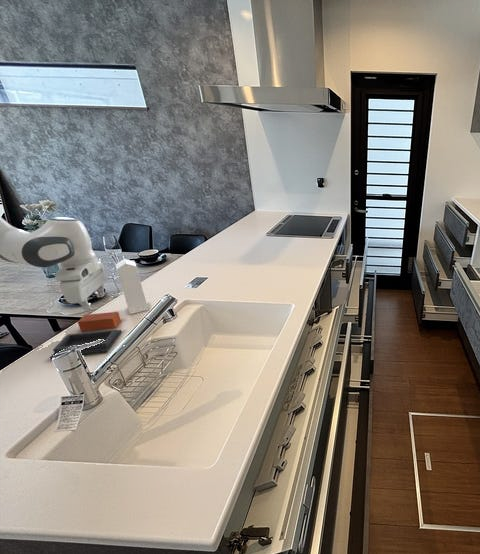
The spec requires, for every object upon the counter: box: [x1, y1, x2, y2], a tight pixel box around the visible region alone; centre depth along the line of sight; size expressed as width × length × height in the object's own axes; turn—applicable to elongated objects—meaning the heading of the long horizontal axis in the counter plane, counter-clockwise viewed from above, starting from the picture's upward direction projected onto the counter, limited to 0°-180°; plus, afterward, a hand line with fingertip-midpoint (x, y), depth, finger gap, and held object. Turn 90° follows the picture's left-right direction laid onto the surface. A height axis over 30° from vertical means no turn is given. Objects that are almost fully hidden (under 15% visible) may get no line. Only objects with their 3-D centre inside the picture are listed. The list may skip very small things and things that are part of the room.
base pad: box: [49, 328, 122, 361], centre depth 99 cm, size 14×12×2 cm
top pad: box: [77, 311, 122, 333], centre depth 109 cm, size 10×5×4 cm, turn 108°
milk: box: [115, 255, 149, 315], centre depth 117 cm, size 6×6×22 cm
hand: (95, 302), depth 106 cm, fingers open, 8 cm apart
